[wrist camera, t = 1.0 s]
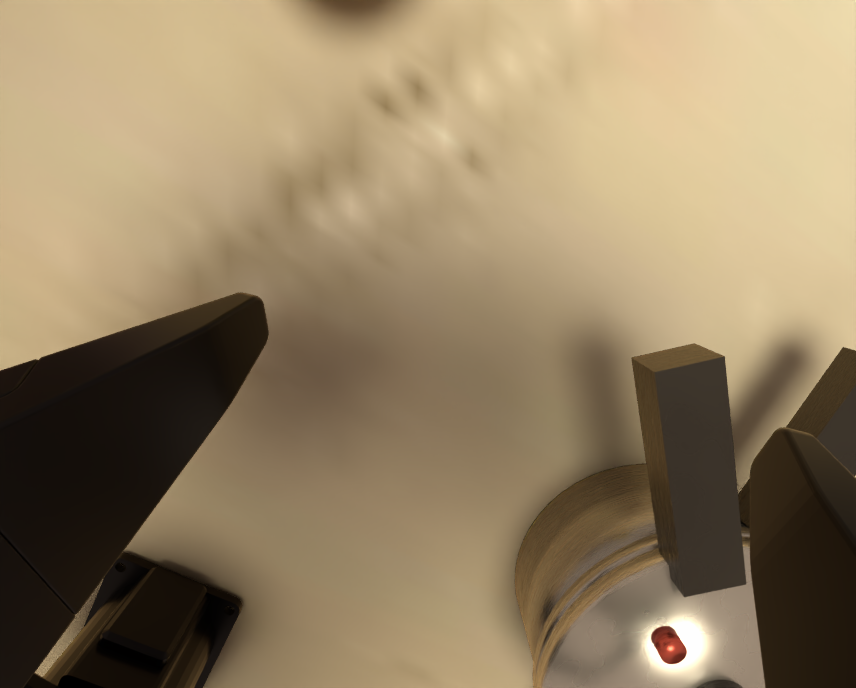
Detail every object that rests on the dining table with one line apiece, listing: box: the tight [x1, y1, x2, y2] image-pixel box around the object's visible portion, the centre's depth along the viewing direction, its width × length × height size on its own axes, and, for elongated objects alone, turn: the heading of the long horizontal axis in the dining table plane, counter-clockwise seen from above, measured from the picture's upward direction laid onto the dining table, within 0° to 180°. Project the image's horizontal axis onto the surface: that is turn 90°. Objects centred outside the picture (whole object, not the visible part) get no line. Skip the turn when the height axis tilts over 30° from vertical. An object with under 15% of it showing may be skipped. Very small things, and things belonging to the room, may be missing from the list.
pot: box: [515, 347, 856, 688], centre depth 22 cm, size 22×13×6 cm, turn 153°
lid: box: [535, 343, 765, 688], centre depth 17 cm, size 22×13×2 cm, turn 13°
